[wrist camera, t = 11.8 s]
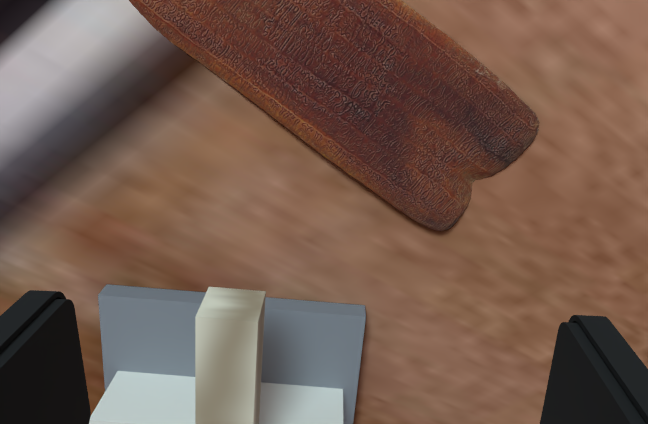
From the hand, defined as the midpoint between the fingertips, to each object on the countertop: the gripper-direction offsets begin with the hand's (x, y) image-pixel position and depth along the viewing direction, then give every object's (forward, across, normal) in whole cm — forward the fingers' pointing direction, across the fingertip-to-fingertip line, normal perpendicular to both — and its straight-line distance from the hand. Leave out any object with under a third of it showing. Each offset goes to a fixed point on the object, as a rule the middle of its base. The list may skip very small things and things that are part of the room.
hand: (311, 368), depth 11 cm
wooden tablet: (+26, +1, -4) cm, 27 cm away
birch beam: (+19, +6, +20) cm, 28 cm away
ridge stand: (+25, +6, +20) cm, 33 cm away
